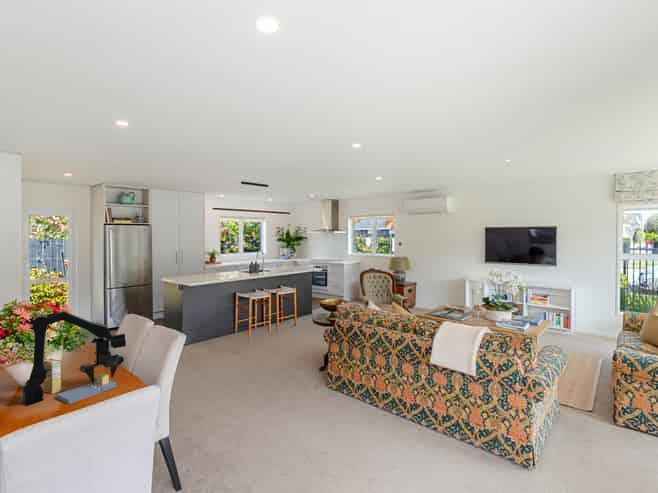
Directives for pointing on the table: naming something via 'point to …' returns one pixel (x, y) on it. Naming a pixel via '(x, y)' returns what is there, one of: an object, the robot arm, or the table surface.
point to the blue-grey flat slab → (78, 393)
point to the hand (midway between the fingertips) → (102, 380)
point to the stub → (104, 382)
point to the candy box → (52, 376)
